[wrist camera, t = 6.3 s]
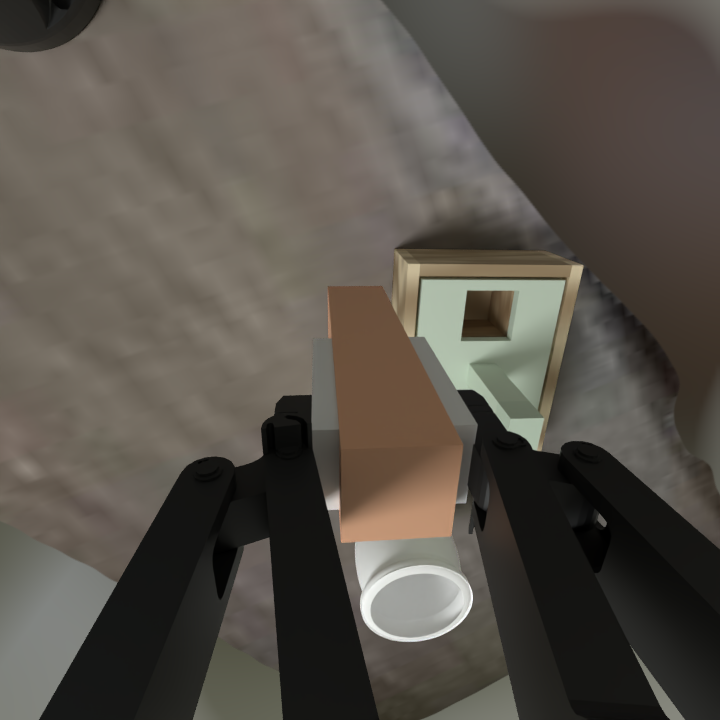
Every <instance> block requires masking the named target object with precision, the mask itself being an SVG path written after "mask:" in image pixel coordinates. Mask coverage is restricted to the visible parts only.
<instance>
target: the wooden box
mask: <svg viewBox="0 0 720 720" xmlns="http://www.w3.org/2000/svg"><path fill="white" fill-rule="evenodd" d="M583 266H584V265H582V264H579V263H576V262H574V261H571V260H568V259H566V258H563V257H561V256H558V255H555V254H553V253H550V252H547V251H541V250H456V249H395V251H394V268H393V286H392V303H391V304H392V306H393V308H394V310H395V312H396V314H397V316H398V318H399V320H400V322H401V324H402V326H403V328H404V330H405V332H406V334H407V336H408V337H415V332H416V319H417V307H418V295H419V283H420V277H521V278H561V279H564V280H566V281H565V286H564V291H563V295H562V300H561V304H560V309H559V314H558V318H557V323H556V328H555V332H554V337H553V341H552V346H551V351H550V355H549V360H548V365H547V369H546V374H545V378H544V383H543V388H542V392H541V397H540V402H539V406H538V412H539V413H540V414H541V415H542V416H543V417H544V421H543V426H542V430H541V435H540V439H539V444H538V448H537V451H541V449H542V445H543V440H544V436H545V432H546V427H547V423H548V419H549V414H550V410H551V406H552V401H553V397H554V393H555V388H556V384H557V379H558V375H559V371H560V366H561V362H562V358H563V353H564V349H565V345H566V340H567V336H568V332H569V327H570V323H571V318H572V314H573V310H574V305H575V301H576V297H577V292H578V288H579V284H580V279H581V275H582V271H583ZM513 296H514V291H471V290H467V295H466V303H465V311H464V319H463V327H462V335H461V337H507V331H508V326H509V320H510V314H511V308H512V302H513Z"/></svg>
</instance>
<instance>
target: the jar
mask: <svg viewBox="0 0 720 720" xmlns="http://www.w3.org/2000/svg"><path fill="white" fill-rule="evenodd" d="M355 561H356V569H357V574H358V579H359V583H360V586H361V589H362V594H361V599H360V609H361V613H362V617H363V620H364V622H365V623H366V625H367V626H368V627H369V628H370V629H371V630H372V631H373V632H374V633H376V634H378V635H380V636H382V637H384V638H387V639H390V640H394V641H401V642H416V641H423V640H428V639H432V638H435V637H438V636H440V635H443V634H445V633H447V632H449V631H450V630H452V629H453V628H455V627H456V626H457V625H459V624H460V623H461V622H462V621H463V620H464V618H465V617H466V616H467V614H468V613H469V611H470V609H471V606H472V602H473V594H472V590H471V587H470V585H469V582H468V580H467V578H466V577H465V575H464V574H463V573H462V572H461V567H460V561H459V556H458V552H457V548H456V545H455V542H454V539H453V537H452V534H451V537H433V538H415V539H398V540H380V541H362V542H355Z"/></svg>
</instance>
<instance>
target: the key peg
mask: <svg viewBox="0 0 720 720" xmlns="http://www.w3.org/2000/svg"><path fill="white" fill-rule="evenodd" d="M328 338H332V347H333V359H334V372H335V384H336V396H337V409H338V421H339V516H340V532H341V543H345V542H362V541H380V540H398V539H415V538H433V537H451V534H452V526H453V519H454V512H455V504H456V497H457V489H458V482H459V475H460V467H461V460H462V452H463V443H462V441H461V439H460V437H459V435H458V433H457V431H456V429H455V427H454V425H453V423H452V421H451V419H450V418H449V416H448V414H447V412H446V410H445V408H444V406H443V404H442V402H441V400H440V398H439V396H438V394H437V392H436V390H435V388H434V386H433V384H432V382H431V380H430V378H429V377H428V375H427V373H426V371H425V369H424V367H423V365H422V363H421V361H420V359H419V357H418V355H417V353H416V351H415V349H414V347H413V345H412V343H411V341H410V339H409V338H408V336H407V334H406V332H405V330H404V328H403V326H402V324H401V322H400V320H399V318H398V316H397V314H396V312H395V310H394V308H393V306H392V304H391V302H390V300H389V298H388V297H387V295H386V293H385V291H384V289H383V287H382V286H328Z"/></svg>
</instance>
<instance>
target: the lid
mask: <svg viewBox="0 0 720 720" xmlns="http://www.w3.org/2000/svg"><path fill="white" fill-rule="evenodd" d="M565 281H566V280H564V279H561V278H521V277H420V283H419V295H418V307H417V319H416V332H415V337H425V339H426V340H427V342H428V344H429V345H430V347H431V349H432V350H433V352H434V353H435V355H436V357H437V358H438V360H439V362H440V363H441V365H442V367H443V368H444V370H445V372H446V373H447V375H448V377H449V378H450V380H451V381H452V383H453V385H454V386H455V388H456V390H474V391H476V392H477V393H479V394H480V395H482V396H483V397H484V398H485V400H486V401H487V403H488V404H489V406H490V407H491V408H492V410H493V412H494V413H495V414H496V415H497V417H498V418H499V420H500V421H501V423H502V424H503V425H504V427H505V428H506V430H507V431H511V432H513V433H516V434H519V435H521V436H522V437H524V438H525V439H526V440H527V441H528V442H529V443H530V445H531V447H532V449H533V450H537V448H538V444H539V439H540V435H541V430H542V426H543V421H544V417H543V416H542V415H541V414H540V413H539V412H538V406H539V402H540V397H541V392H542V388H543V383H544V378H545V374H546V369H547V365H548V360H549V355H550V351H551V346H552V341H553V337H554V332H555V328H556V323H557V318H558V314H559V309H560V304H561V300H562V295H563V291H564V286H565ZM467 290H471V291H514V296H513V302H512V308H511V314H510V320H509V326H508V331H507V337H461V335H462V327H463V319H464V311H465V303H466V295H467Z"/></svg>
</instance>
